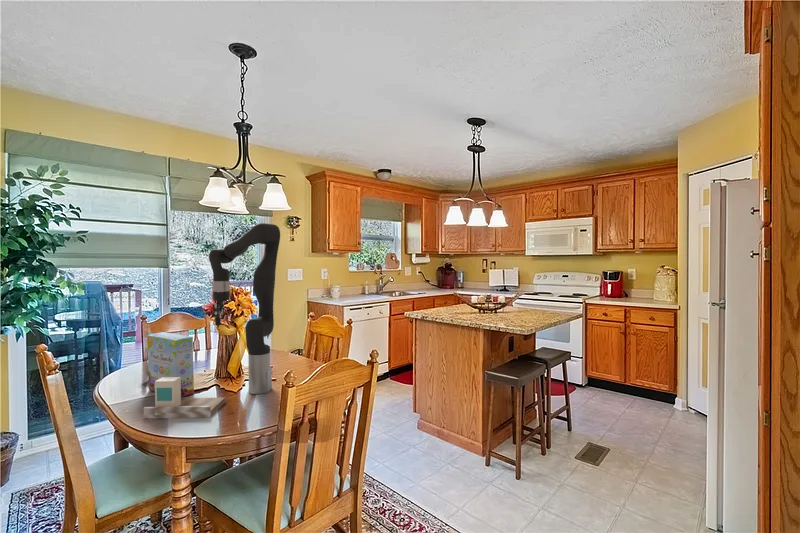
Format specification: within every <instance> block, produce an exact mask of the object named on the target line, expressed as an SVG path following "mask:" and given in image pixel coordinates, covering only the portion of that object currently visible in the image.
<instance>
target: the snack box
mask: <svg viewBox="0 0 800 533" xmlns="http://www.w3.org/2000/svg"><path fill="white" fill-rule="evenodd" d="M193 338H194V337H193V336H189V335H185V334H179V333H172V332H166V331H161V332H157V333H152V334H147V335H146V341H147V342H146V344H147V349H148V350H147V362H148V376H149V377H148V376H147V377H148V391H149V392H154V393H155V381H157V380H158V379H160V378H162V377H181V398H186V397H187V396H191V395H195V385H194V384H195V383H194V379H195V378H194V341H193V340H194V339H193Z"/></svg>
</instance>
